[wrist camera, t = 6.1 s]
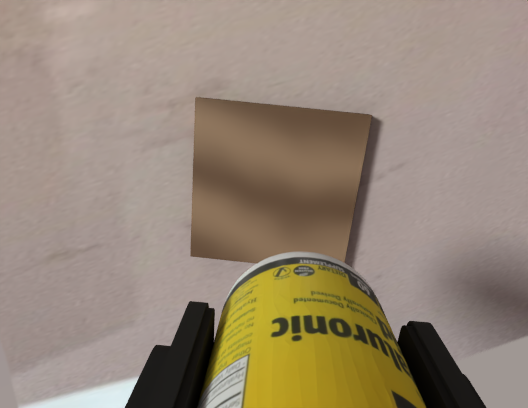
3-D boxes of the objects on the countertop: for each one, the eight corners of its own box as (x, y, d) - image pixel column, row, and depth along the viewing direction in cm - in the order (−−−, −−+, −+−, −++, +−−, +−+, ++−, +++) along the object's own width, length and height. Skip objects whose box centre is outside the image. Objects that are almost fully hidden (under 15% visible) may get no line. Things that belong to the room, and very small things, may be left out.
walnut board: (198, 97, 24) (195, 97, 23) (368, 114, 24) (372, 115, 23) (193, 250, 28) (190, 256, 27) (340, 266, 28) (342, 272, 27)
